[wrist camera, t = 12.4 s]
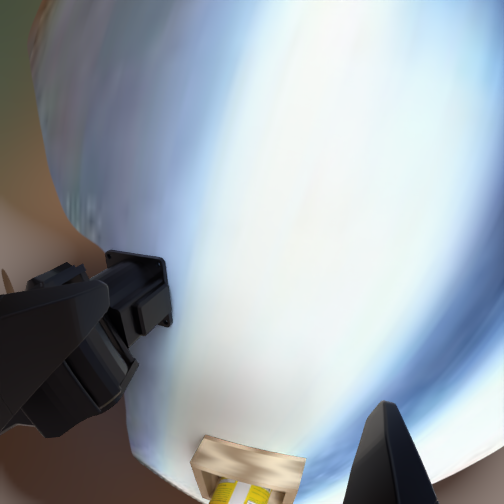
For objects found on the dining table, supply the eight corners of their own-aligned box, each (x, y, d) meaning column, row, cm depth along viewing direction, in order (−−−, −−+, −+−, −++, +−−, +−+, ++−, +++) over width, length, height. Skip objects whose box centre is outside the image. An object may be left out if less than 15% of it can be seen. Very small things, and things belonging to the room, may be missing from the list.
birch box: (213, 475, 35) (202, 497, 31) (205, 434, 31) (189, 462, 27) (293, 494, 32) (286, 519, 28) (306, 458, 28) (297, 489, 24)
